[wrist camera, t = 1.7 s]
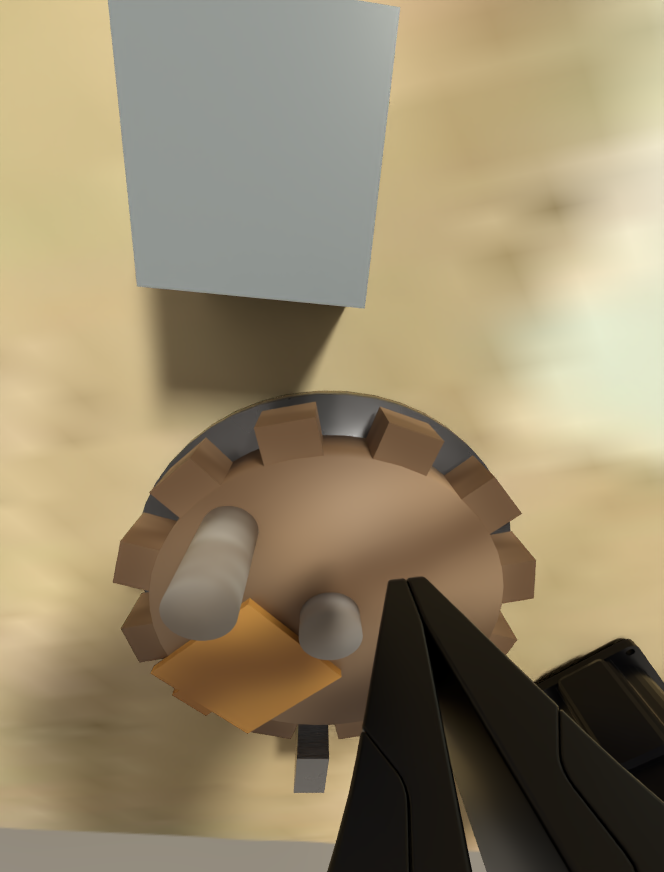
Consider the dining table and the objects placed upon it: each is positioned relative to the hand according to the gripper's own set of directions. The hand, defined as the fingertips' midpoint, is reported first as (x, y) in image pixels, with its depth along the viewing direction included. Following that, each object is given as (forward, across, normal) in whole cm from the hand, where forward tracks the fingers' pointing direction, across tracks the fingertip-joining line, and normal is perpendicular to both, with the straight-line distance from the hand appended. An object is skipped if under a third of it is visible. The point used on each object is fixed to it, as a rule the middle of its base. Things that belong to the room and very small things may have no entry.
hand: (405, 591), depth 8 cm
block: (+7, +2, -9) cm, 12 cm away
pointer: (+7, +4, +16) cm, 18 cm away
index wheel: (+7, +2, +5) cm, 9 cm away
